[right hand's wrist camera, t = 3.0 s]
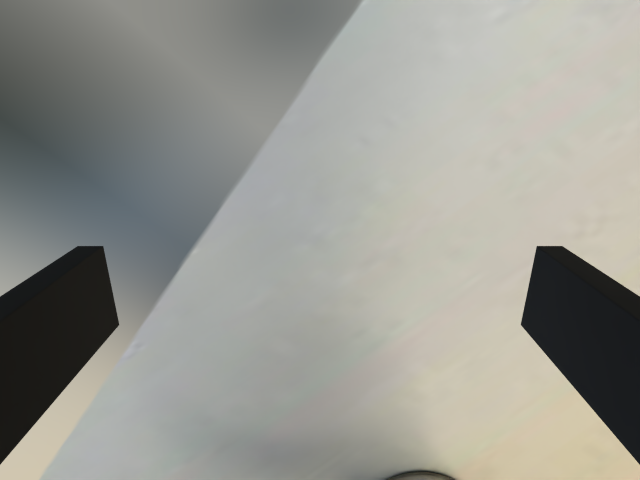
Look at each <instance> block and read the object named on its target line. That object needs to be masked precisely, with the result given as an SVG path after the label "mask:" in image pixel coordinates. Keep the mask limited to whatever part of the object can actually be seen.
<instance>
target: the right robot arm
mask: <svg viewBox="0 0 640 480" xmlns="http://www.w3.org/2000/svg"><path fill="white" fill-rule="evenodd" d="M118 325H119V322H118V317H117V312H116V307H115V302H114V297H113V292H112V287H111V283H110V278H109V273H108V268H107V263H106V258H105V253H104V248H103V246H77V247H76V248H74V249H73V250H71V251H70V252H68V253H67V254H65V255H64V256H62V257H61V258H59V259H57V260H56V261H54V262H53V263H51V264H50V265H48V266H47V267H45V268H44V269H42V270H40V271H39V272H37V273H36V274H34V275H33V276H31V277H30V278H28V279H27V280H25V281H24V282H22V283H21V284H19V285H17V286H16V287H14V288H13V289H11V290H10V291H8V292H7V293H5V294H4V295H2V296H1V297H0V464H1V463H2V462H3V461H4V459H5V458H6V457H7V456H8V455H9V454H10V452H11V451H12V450H13V449H14V448H15V447H16V445H17V444H18V443H19V442H20V441H21V439H22V438H23V437H24V436H25V435H26V434H27V432H28V431H29V430H30V429H31V428H32V426H33V425H34V424H35V423H36V422H37V421H38V420H39V418H40V417H41V416H42V415H43V414H44V412H45V411H46V410H47V409H48V408H49V407H50V405H51V404H52V403H53V402H54V401H55V399H56V398H57V397H58V396H59V395H60V394H61V392H62V391H63V390H64V389H65V388H66V387H67V385H68V384H69V383H70V382H71V381H72V380H73V378H74V377H75V376H76V375H77V374H78V372H79V371H80V370H81V369H82V368H83V367H84V365H85V364H86V363H87V362H88V361H89V360H90V358H91V357H92V356H93V355H94V354H95V352H96V351H97V350H98V349H99V348H100V347H101V345H102V344H103V343H104V342H105V341H106V340H107V338H108V337H109V336H110V335H111V334H112V333H113V331H114V330H115V329H116V328H117V327H118ZM521 325H522V327H523V328H524V329H525V330H526V331H527V333H528V334H529V335H530V336H531V337H532V338H533V340H534V341H535V342H536V343H537V344H538V345H539V347H540V348H541V349H542V350H543V351H544V353H545V354H546V355H547V356H548V357H549V358H550V360H551V361H552V362H553V363H554V364H555V365H556V367H557V368H558V369H559V370H560V371H561V372H562V374H563V375H564V376H565V377H566V378H567V380H568V381H569V382H570V383H571V384H572V385H573V387H574V388H575V389H576V390H577V391H578V392H579V394H580V395H581V396H582V397H583V398H584V400H585V401H586V402H587V403H588V404H589V405H590V407H591V408H592V409H593V410H594V411H595V412H596V414H597V415H598V416H599V417H600V418H601V420H602V421H603V422H604V423H605V424H606V425H607V427H608V428H609V429H610V430H611V431H612V432H613V434H614V435H615V436H616V437H617V438H618V439H619V441H620V442H621V443H622V444H623V445H624V447H625V448H626V449H627V450H628V451H629V452H630V454H631V455H632V456H633V457H634V458H635V459H636V461H637V462H638V463H639V464H640V297H639V296H638V295H636V294H635V293H633V292H632V291H630V290H629V289H627V288H626V287H624V286H623V285H621V284H620V283H618V282H616V281H615V280H613V279H612V278H610V277H609V276H607V275H606V274H604V273H603V272H601V271H600V270H598V269H596V268H595V267H593V266H592V265H590V264H589V263H587V262H586V261H584V260H583V259H581V258H580V257H578V256H576V255H575V254H573V253H572V252H570V251H569V250H567V249H566V248H564V247H563V246H537V248H536V253H535V258H534V263H533V268H532V273H531V278H530V283H529V287H528V292H527V297H526V302H525V307H524V312H523V317H522V322H521ZM388 480H453V479H451V478H449V477H446V476H444V475H440V474H436V473H430V472H412V473H406V474H401V475H398V476H395V477H392V478H390V479H388Z"/></svg>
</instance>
